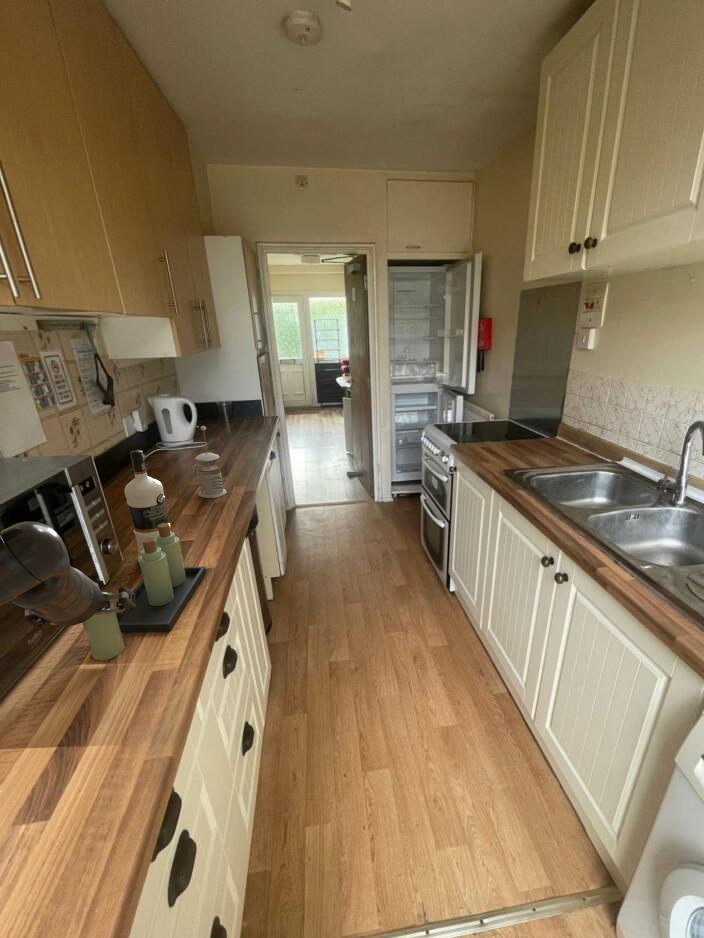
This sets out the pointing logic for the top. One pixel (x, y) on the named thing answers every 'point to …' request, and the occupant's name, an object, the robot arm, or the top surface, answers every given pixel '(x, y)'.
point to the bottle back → (171, 553)
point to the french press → (209, 475)
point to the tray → (164, 615)
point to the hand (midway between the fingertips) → (96, 614)
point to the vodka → (145, 502)
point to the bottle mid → (155, 574)
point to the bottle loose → (104, 636)
